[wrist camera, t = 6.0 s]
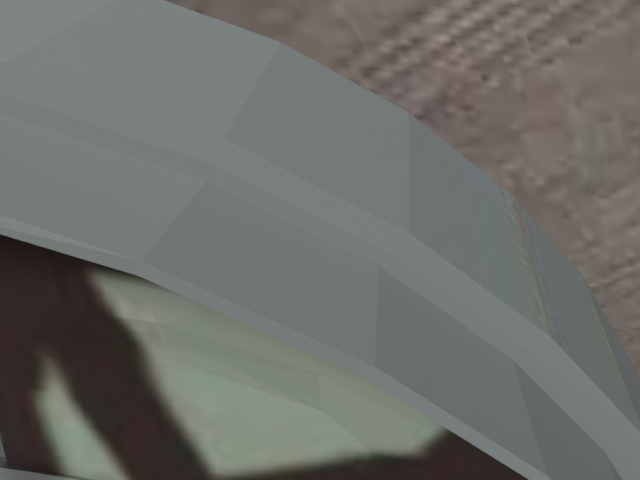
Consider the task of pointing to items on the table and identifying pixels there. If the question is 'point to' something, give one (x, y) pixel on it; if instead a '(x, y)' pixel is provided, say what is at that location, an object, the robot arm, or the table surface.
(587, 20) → the table surface
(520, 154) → the table surface
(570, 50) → the table surface
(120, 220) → the food container
